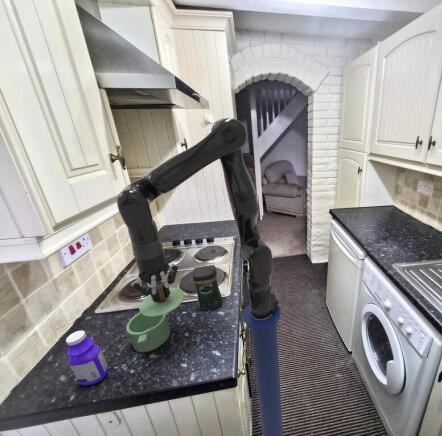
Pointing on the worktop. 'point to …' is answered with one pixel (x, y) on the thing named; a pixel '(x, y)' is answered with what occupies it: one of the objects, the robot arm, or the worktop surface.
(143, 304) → the lid
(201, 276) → the coffee jar
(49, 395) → the worktop surface
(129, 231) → the robot arm
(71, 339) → the bottle
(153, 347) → the pot
